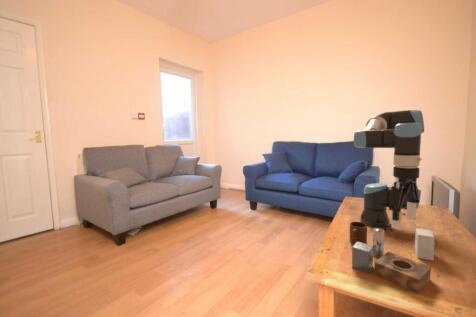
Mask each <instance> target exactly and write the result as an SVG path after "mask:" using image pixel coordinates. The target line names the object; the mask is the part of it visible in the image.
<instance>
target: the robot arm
mask: <svg viewBox="0 0 476 317" xmlns="http://www.w3.org/2000/svg"><path fill="white" fill-rule="evenodd" d="M424 123H425V122H424V116H423V112H422V111H421V110H419V109H418V110H417V109H410V110H399V111H397V110H396V111H385V112H381V113H378V114H376V115H374V116H372V117H370V118H369V119H368V120H367V121H366V123H365V128H364V129H361V130H355V132H354V134H353V146H354V147H355V148H359V149H376V148H377V149H384V148H385V149H394V150H393V152H394V153H393V166H394V167H393V170H392V171H393V172H392V176H393V177H394V182H393V183H391V186H388V184H387V183H381V182H377V183H376V182H375V183H374V182H373V183H368V184H366V185H365V186H364V188H363V209H362V212H361V214H360V217H359V220H360V221H359V222H361V223H364V224H366V225H367V226H369V227H373V228H386V227H389V226H390V222H391V228H392V229H395V230H399V231H401V230H402V219H403V217H402V216H403V211H402V210H405V211H406V219H408V220H412V221H416V220H417V219H416V217H417V216H416V215H417V209H418V208H419V205H420V202H421V195H422V190H421V189H418V188H419V187H418V183H417V179H419V178H420V168H419V166H420V161H422V158H421V141H422V140H421V139H422V133H425V124H424ZM387 208H388V210H389V211H391V220H390V218H389V215H388V211H387Z"/></svg>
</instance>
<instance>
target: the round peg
mask: <svg viewBox="0 0 476 317" xmlns="http://www.w3.org/2000/svg"><path fill="white" fill-rule="evenodd" d="M372 236H373V237H372V238H373V242H372V243H373V244H372V246H373V257H375V258H378V259H379V258H380V257H382V256H383V255H384V254H385V253H384V252H385V229H383V228H382V227H373V233H372Z"/></svg>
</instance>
